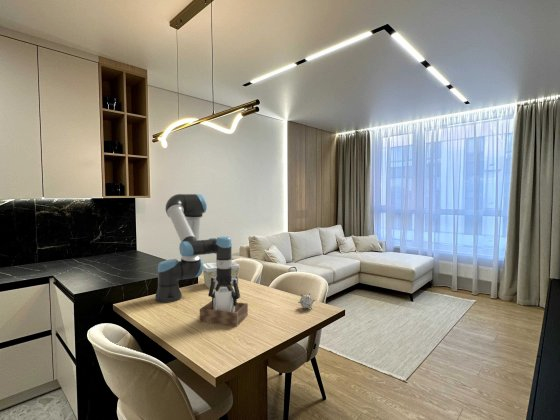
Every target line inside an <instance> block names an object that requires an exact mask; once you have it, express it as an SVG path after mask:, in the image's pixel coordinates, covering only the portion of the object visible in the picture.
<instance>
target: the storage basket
mask: <svg viewBox="0 0 560 420" xmlns="http://www.w3.org/2000/svg"><path fill="white" fill-rule="evenodd" d="M231 264H232V266H231V270H232V274H231V277H232V278H233V279H236V278H237V284H239V274H240V272H239V271H240V264H239V263H238V262H235V261H234V260H231ZM216 269H217V263H216V262H208V263H203V271H202V273H203V280H204V281H203V282H204V285H205V286H206V288H208V289H210V285H211V278H212V277H217V270H216ZM217 284H218V282H217V280H216V281H215V286H214V289H215V288H216V286H217ZM231 284H232V286H233V283H232V281H231ZM221 287H223V286H220V288H221Z"/></svg>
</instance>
